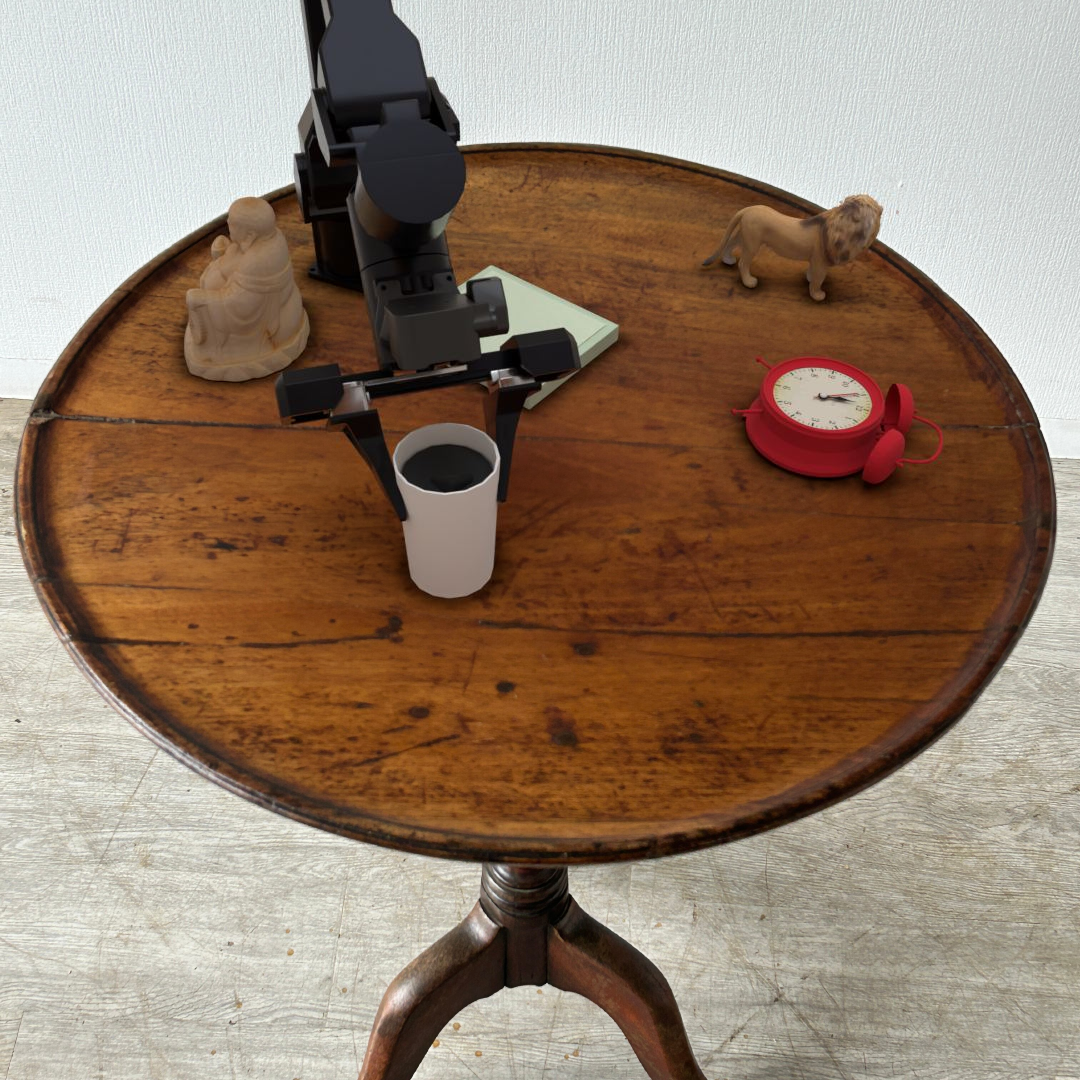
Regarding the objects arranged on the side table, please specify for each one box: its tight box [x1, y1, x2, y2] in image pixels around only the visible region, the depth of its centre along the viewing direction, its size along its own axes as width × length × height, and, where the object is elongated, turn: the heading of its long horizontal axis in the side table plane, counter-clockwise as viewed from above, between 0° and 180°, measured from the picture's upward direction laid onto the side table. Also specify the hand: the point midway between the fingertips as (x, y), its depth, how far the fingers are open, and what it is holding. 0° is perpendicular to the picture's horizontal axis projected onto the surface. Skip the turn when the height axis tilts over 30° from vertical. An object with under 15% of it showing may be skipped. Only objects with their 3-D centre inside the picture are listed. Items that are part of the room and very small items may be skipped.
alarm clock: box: [730, 356, 944, 485], centre depth 85 cm, size 10×6×15 cm
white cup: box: [392, 422, 500, 599], centre depth 73 cm, size 7×7×10 cm
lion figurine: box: [700, 193, 884, 302], centre depth 99 cm, size 15×5×9 cm, turn 79°
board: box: [446, 264, 620, 410], centre depth 94 cm, size 14×12×2 cm
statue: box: [183, 196, 311, 383], centre depth 90 cm, size 12×14×10 cm
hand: (452, 511), depth 71 cm, fingers closed on white cup, 6 cm apart
